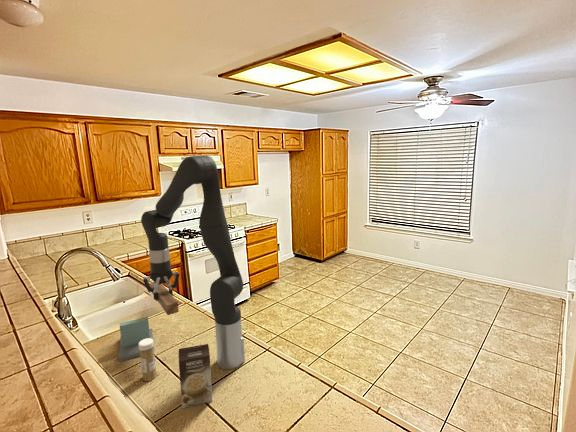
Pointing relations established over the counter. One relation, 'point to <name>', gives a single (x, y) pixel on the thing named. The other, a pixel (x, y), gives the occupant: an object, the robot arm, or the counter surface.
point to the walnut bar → (166, 299)
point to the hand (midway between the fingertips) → (163, 298)
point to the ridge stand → (133, 337)
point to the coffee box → (195, 375)
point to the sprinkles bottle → (147, 359)
